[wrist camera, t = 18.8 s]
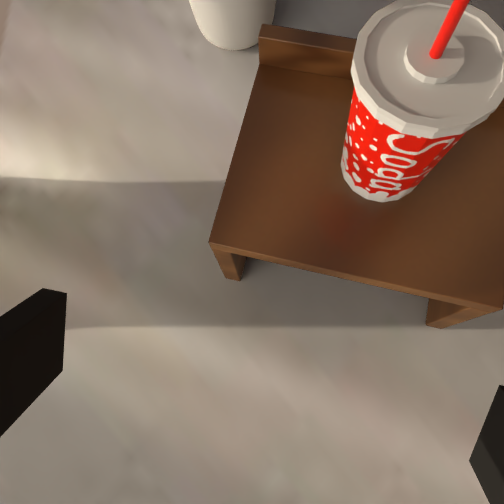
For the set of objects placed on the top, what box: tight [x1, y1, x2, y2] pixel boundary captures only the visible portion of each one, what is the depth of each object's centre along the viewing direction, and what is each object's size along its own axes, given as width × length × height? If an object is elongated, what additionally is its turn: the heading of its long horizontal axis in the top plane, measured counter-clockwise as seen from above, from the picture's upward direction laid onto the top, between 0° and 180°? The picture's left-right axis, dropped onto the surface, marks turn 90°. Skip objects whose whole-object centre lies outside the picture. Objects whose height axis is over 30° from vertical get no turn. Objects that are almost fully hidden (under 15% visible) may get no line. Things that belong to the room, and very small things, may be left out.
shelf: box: [208, 24, 504, 329], centre depth 29 cm, size 16×13×11 cm
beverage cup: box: [341, 0, 504, 202], centre depth 19 cm, size 6×6×14 cm
